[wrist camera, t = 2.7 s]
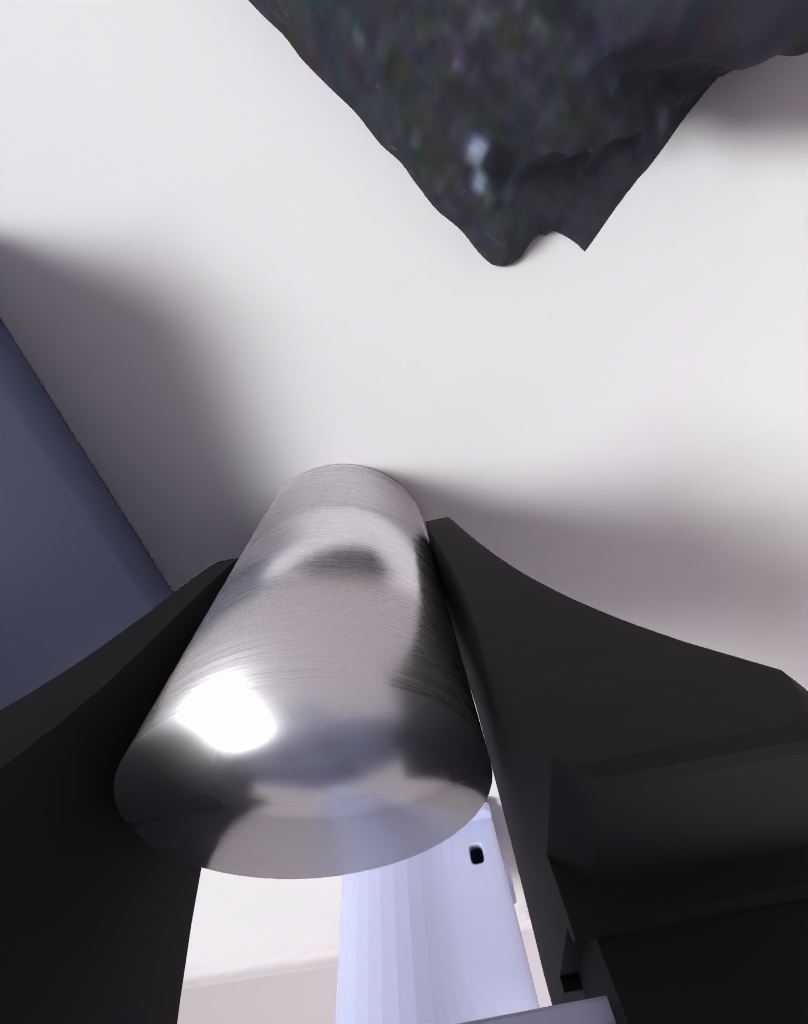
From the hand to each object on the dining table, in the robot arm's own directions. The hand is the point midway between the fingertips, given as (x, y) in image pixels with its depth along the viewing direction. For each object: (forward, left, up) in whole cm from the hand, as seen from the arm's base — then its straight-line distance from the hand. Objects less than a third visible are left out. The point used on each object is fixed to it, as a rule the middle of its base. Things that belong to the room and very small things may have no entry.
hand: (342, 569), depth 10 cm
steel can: (0, 0, -2) cm, 2 cm away
